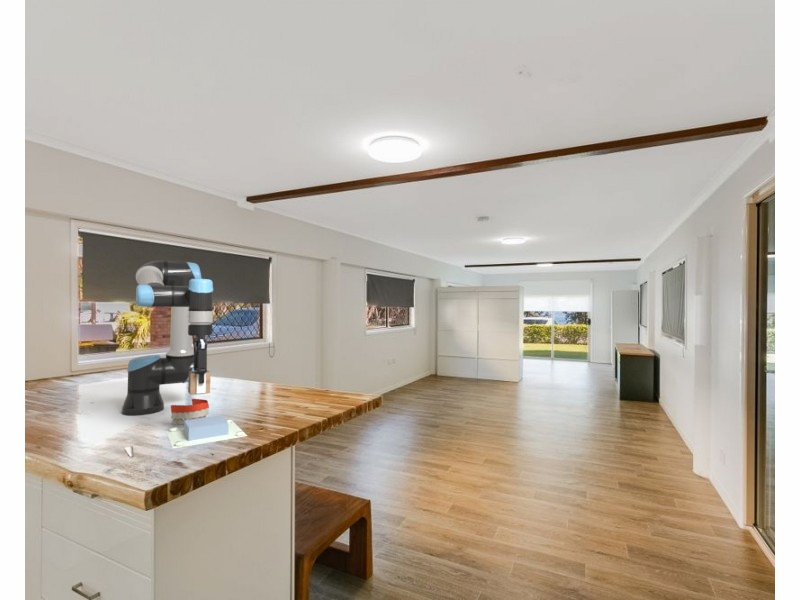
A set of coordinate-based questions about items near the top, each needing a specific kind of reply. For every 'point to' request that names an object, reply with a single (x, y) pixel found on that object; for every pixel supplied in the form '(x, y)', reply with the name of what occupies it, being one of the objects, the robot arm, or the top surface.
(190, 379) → the walnut block
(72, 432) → the top surface
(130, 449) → the page
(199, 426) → the base brick
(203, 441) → the build plate
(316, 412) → the top surface
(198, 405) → the toy
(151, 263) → the robot arm
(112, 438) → the top surface
